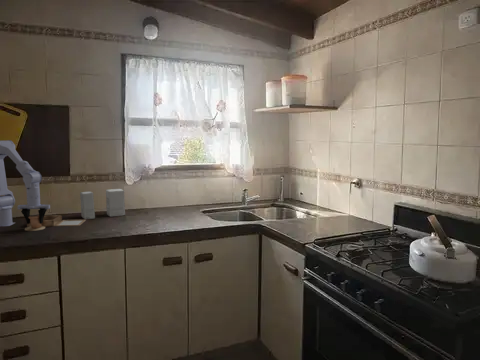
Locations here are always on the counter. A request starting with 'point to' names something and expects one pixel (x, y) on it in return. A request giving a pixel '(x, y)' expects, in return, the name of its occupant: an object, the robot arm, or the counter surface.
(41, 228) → the trivet
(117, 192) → the supplement box
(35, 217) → the pot
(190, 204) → the counter surface
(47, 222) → the cold frame
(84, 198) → the skincare box
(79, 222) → the lid
